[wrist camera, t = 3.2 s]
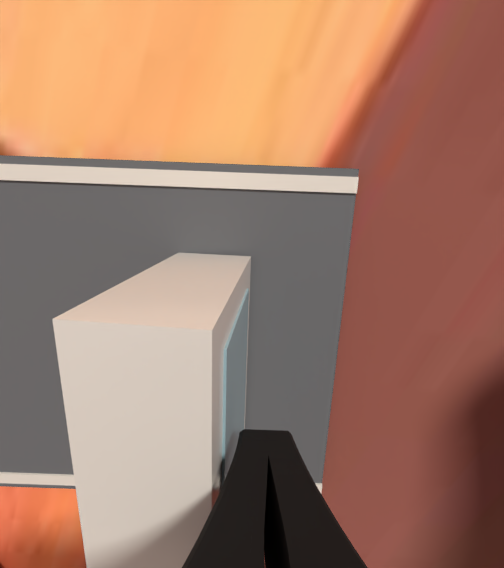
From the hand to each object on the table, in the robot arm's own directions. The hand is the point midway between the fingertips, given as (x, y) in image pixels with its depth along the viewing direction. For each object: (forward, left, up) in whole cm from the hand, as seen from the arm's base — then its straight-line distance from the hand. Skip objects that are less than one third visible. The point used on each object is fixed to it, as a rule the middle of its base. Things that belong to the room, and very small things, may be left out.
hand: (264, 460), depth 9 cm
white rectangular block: (+2, 0, -6) cm, 6 cm away
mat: (+7, 0, -6) cm, 9 cm away
